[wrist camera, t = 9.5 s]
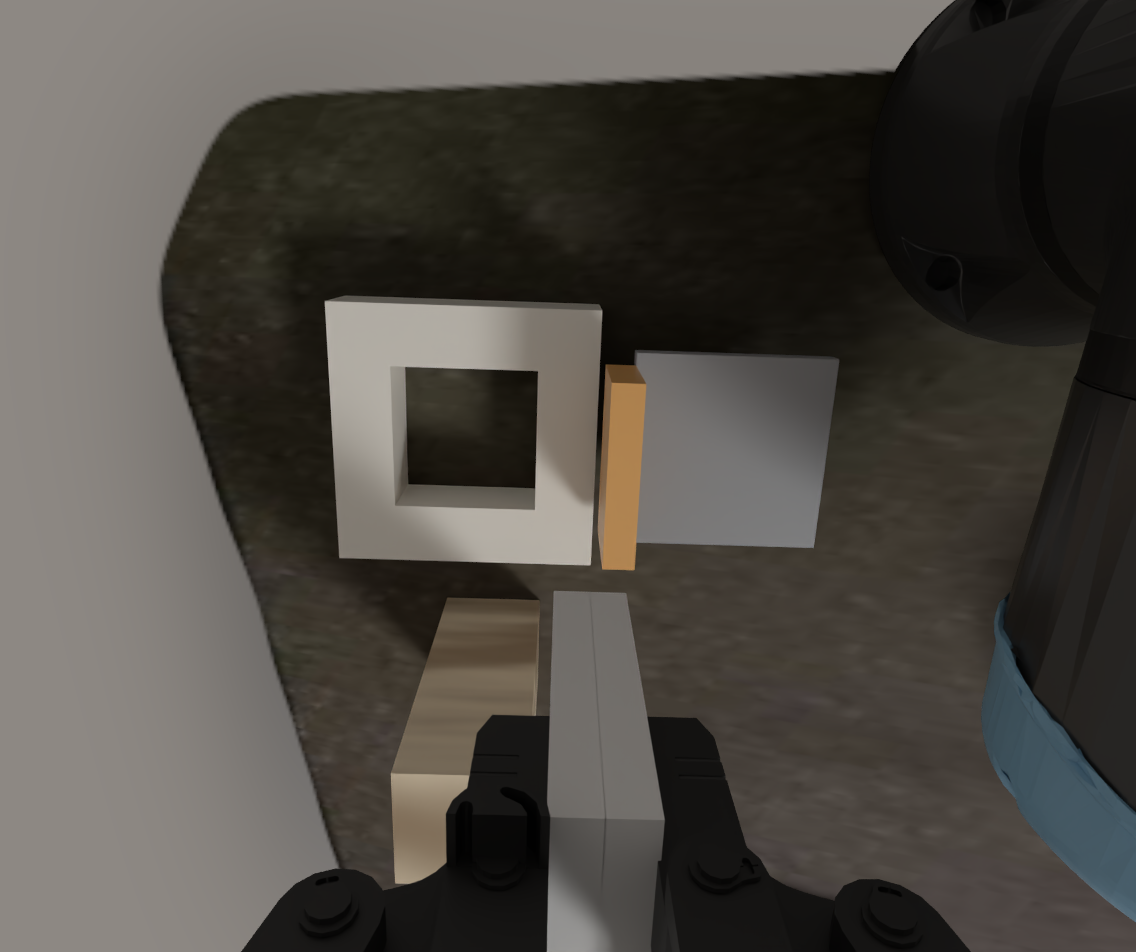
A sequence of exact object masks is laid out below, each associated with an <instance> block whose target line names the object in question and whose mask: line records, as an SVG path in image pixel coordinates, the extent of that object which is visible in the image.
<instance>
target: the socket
mask: <svg viewBox="0 0 1136 952" xmlns="http://www.w3.org/2000/svg"><path fill="white" fill-rule="evenodd" d="M325 314H326V332H327V350H328V367H329V385H330V402H331V420H332V437H333V455H334V473H335V490H336V508H337V525H338V543H339V558H358V559H392V560H426V561H461V562H495V563H529V564H563V565H591V546H592V524H593V503H594V481H595V459H596V438H597V416H598V394H599V373H600V351H601V329H602V309H601V307H600V305H599V304H577V303H548V302H519V301H490V300H461V299H432V298H402V297H373V296H342V297H338V298H334V299H331V300H327V301H325ZM405 367H430V368H460V369H491V370H521V371H538V398H537V441H536V485H535V488H511V487H478V486H446V485H413V484H408V458H407V422H406V386H405Z"/></svg>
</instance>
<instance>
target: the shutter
mask: <svg viewBox="0 0 1136 952" xmlns="http://www.w3.org/2000/svg"><path fill="white" fill-rule="evenodd" d="M838 366H839V359H837V358H835V357H831V356H801V355H771V354H741V353H711V352H681V351H651V350H635V361H634V365H606V371H605V391H604V412H603V432H602V453H601V474H600V494H599V515H598V537H599V545H600V554H601V563H602V569H610V570H634V569H635V554H636V543H669V544H702V545H736V546H770V547H803V548H814V542H815V534H816V527H817V520H818V512H819V505H820V498H821V491H822V483H823V476H824V469H825V461H826V454H827V447H828V439H829V432H830V425H831V417H832V410H833V403H834V396H835V388H836V381H837V374H838Z"/></svg>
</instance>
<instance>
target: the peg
mask: <svg viewBox="0 0 1136 952" xmlns="http://www.w3.org/2000/svg"><path fill="white" fill-rule="evenodd" d="M539 608H540V600H517V599H482V598H447V600H446V604H445V607H444V610H443V613H442V616H441V619H440V622H439V625H438V628H437V632H436V635H435V638H434V641H433V644H432V647H431V650H430V653H429V657H428V660H427V663H426V666H425V669H424V672H423V675H422V678H421V681H420V685H419V688H418V691H417V694H416V697H415V700H414V703H413V706H412V709H411V713H410V716H409V719H408V722H407V725H406V728H405V731H404V734H403V738H402V741H401V744H400V747H399V750H398V753H397V756H396V759H395V762H394V766H393V769H392V772H391V787H392V813H393V838H394V864H395V883H406V884H411V883H414V882H417V881H419V880H422V879H424V878H426V877H427V876H429V875H431V874H433V873H434V872H436V871H437V870H438V869H439V868H441V867H442V866H443V865H444V864H445V863H446V812H447V810H448V808H449V806H450V804H451V802H452V800H453V799H454V798H455V797H457V796H458V795H459V794H460V793H461V792H463V791H464V790H465V789H467V786H468V780H469V776H470V769H471V763H472V758H473V752H474V746H475V741H476V735H477V732H478V731H479V730H480V728H481V727H482V726H483V725H484V724H485V723H486V721H487V720H488V719H489V718H490V717H491V716H492V715H524V716H536V700H537V683H538V647H539Z"/></svg>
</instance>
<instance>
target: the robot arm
mask: <svg viewBox="0 0 1136 952" xmlns="http://www.w3.org/2000/svg"><path fill="white" fill-rule="evenodd" d="M896 70H899V72H898V73H897V75H896V77H895V79H894V81H893V83H892V85H891V88H890V90H889V92H888V94H887V97H886V99H885V102H884V105H883V107H882V110H881V113H880V116H879V120H878V123H877V127H876V131H875V135H874V140H873V145H872V151H871V159H870V175H869V188H870V202H871V211H872V216H873V222H874V226H875V230H876V233H877V237H878V240H879V243H880V245H881V248H882V251H883V253H884V255H885V257H886V260H887V262H888V263H889V265H890V267H891V269H892V271H893V273H894V274H895V276H896V277H897V279H898V280H899V282H900V283H901V284H902V286H903V287H904V288H905V289H906V291H907V292H908V293H909V294H910V295H911V296H912V297H913V298H914V299H915V301H916V302H918V303H919V304H920V305H921V306H922V307H923V308H924V309H925V310H927V311H928V312H929V313H931V314H932V315H933V316H935V317H936V318H938V319H939V320H941V321H942V322H944V323H946V324H948V325H950V326H952V327H953V328H955V329H958V330H960V331H963V332H965V333H967V334H971V335H974V336H977V337H980V338H984V339H989V340H993V341H997V342H1001V343H1006V344H1012V345H1019V346H1059V345H1068V344H1075V343H1080V342H1085V341H1086V344H1085V347H1084V351H1083V354H1082V358H1081V361H1080V364H1079V368H1078V371H1077V373H1076V375H1075V377H1074V379H1073V382H1072V386H1071V389H1070V393H1069V396H1068V400H1067V403H1066V407H1065V410H1064V414H1063V418H1062V421H1061V425H1060V428H1059V432H1058V435H1057V439H1056V442H1055V446H1054V449H1053V453H1052V456H1051V460H1050V463H1049V467H1048V470H1047V474H1046V477H1045V481H1044V485H1043V488H1042V492H1041V495H1040V499H1039V502H1038V505H1037V508H1036V512H1035V515H1034V518H1033V521H1032V525H1031V528H1030V531H1029V534H1028V538H1027V541H1026V544H1025V547H1024V551H1023V554H1022V557H1021V560H1020V563H1019V567H1018V570H1017V573H1016V576H1015V580H1014V583H1013V586H1012V589H1011V592H1010V593H1009V594H1008V595H1007V596H1006V597H1005V598H1004V599H1003V600H1001V601H1000V602H999V605H998V608H997V611H996V614H995V619H994V634H995V638H996V645H995V649H994V653H993V658H992V662H991V667H990V671H989V676H988V680H987V684H986V689H985V693H984V698H983V702H982V714H981V721H982V732H983V737H984V741H985V746H986V749H987V752H988V755H989V758H990V761H991V763H992V765H993V767H994V769H995V771H996V772H997V774H998V776H999V778H1000V780H1001V781H1002V783H1003V785H1004V786H1005V787H1006V788H1007V789H1008V790H1009V792H1010V793H1011V794H1012V795H1013V796H1014V797H1015V798H1016V801H1017V805H1018V809H1019V810H1020V812H1021V814H1022V815H1023V817H1024V818H1025V819H1026V821H1027V822H1028V823H1029V824H1030V826H1031V827H1032V828H1033V829H1034V830H1035V831H1036V833H1037V834H1038V835H1039V836H1040V837H1041V838H1042V839H1043V840H1044V842H1045V843H1046V844H1047V845H1048V846H1049V847H1050V848H1051V849H1052V850H1053V852H1054V853H1055V854H1056V855H1057V856H1058V857H1059V858H1060V859H1061V860H1062V861H1063V862H1064V863H1065V864H1066V865H1067V866H1068V867H1070V868H1071V869H1072V870H1073V871H1074V872H1075V873H1076V874H1077V875H1078V876H1079V877H1080V878H1081V879H1082V880H1084V881H1085V882H1086V883H1087V884H1088V885H1089V886H1090V887H1092V888H1093V889H1094V890H1095V891H1096V892H1097V893H1099V894H1100V895H1101V896H1102V897H1103V898H1105V899H1106V900H1107V901H1108V902H1109V903H1111V904H1112V905H1113V906H1115V907H1116V908H1117V909H1119V910H1120V911H1121V912H1123V913H1124V914H1125V915H1126V916H1128V917H1129V918H1131V919H1132V920H1133V921H1135V922H1136V0H955V1H953V2H952V3H951V4H950V5H949V6H947V7H946V8H945V9H944V10H943V11H942V12H941V13H940V14H939V15H938V16H937V17H936V18H935V19H934V20H933V21H932V22H931V23H930V24H929V25H928V26H927V27H926V28H925V29H924V30H923V32H922V33H921V34H920V35H919V37H918V38H917V39H916V40H915V41H914V43H913V44H912V45H911V47H910V48H909V50H908V51H907V52H906V54H905V55H904V57H903V59H902V61H901V62H900V63H899V65H898V66H897V68H896ZM241 952H970V950H969V949H968V948H967V947H966V946H965V944H964V943H963V942H962V941H961V940H960V938H959V937H958V936H957V935H956V934H955V932H954V931H953V930H952V929H951V928H950V926H949V925H948V924H947V923H946V922H945V920H944V919H943V918H942V917H941V916H940V914H939V913H938V912H937V911H936V910H935V909H934V908H933V907H932V906H930V905H929V904H928V903H927V902H926V901H925V900H924V899H923V898H922V897H921V896H919V895H917V894H915V893H913V892H911V891H910V890H908V889H906V888H904V887H902V886H901V885H897V884H894V883H890V882H887V881H883V880H879V879H859V880H857V881H854V882H852V883H849V884H847V885H845V886H843V888H842V889H841V891H840V892H839V893H838V895H837V896H836V897H835V901H832V900H828V899H825V898H821V897H818V896H815V895H811V894H808V893H804V892H801V891H798V890H796V889H793V888H791V887H788V886H786V885H784V884H782V883H780V882H779V881H777V880H775V879H774V878H772V877H771V876H769V874H768V872H767V870H766V868H765V867H764V865H763V863H762V861H761V859H760V858H759V857H757V856H756V855H755V854H754V853H753V852H752V851H751V850H749V849H748V848H747V846H746V843H745V840H744V837H743V833H742V830H741V827H740V823H739V820H738V816H737V813H736V810H735V806H734V803H733V800H732V796H731V793H730V790H729V786H728V783H727V780H726V779H725V773H724V769H723V766H722V763H721V762H720V756H719V752H718V749H717V746H716V742H715V739H714V737H713V735H712V734H711V733H710V732H709V731H708V730H707V729H706V728H705V727H704V726H703V725H702V724H701V723H700V721H699V720H698V719H697V718H673V717H647V713H646V707H645V702H644V696H643V690H642V684H641V678H640V672H639V666H638V660H637V655H636V649H635V643H634V637H633V631H632V625H631V619H630V614H629V608H628V602H627V596H626V593H607V592H573V591H554V601H553V633H552V664H551V696H550V716H524V715H492V716H491V717H490V718H489V719H488V720H487V721H486V723H485V724H484V725H483V726H482V727H481V728H480V730H479V731H478V732H477V735H476V741H475V746H474V752H473V758H472V763H471V769H470V776H469V780H468V786H467V789H465V790H464V791H463V792H461V793H460V794H459V795H458V796H457V797H455V798H454V799H453V800H452V802H451V804H450V806H449V808H448V810H447V812H446V863H445V864H444V865H443V866H442V867H441V868H439V869H438V870H437V871H436V872H434V873H433V874H431V875H429V876H427V877H426V878H424V879H422V880H419V881H417V882H414V883H411V884H408V885H404V886H400V887H396V888H392V889H388V890H384V891H382V888H381V887H380V886H379V885H378V884H377V882H376V881H375V880H374V879H373V878H372V877H371V876H369V875H366V874H364V873H362V872H359V871H357V870H350V869H332V870H328V871H324V872H320V873H315V874H313V875H311V876H310V877H307V878H306V879H304V880H302V881H300V882H298V883H296V884H295V885H294V886H293V887H292V888H291V889H290V890H289V891H288V892H287V893H286V894H285V895H284V896H283V897H282V898H281V899H280V900H279V901H278V902H277V904H276V905H275V907H274V908H273V909H272V911H271V912H270V913H269V915H268V916H267V917H266V919H265V920H264V922H263V923H262V924H261V926H260V927H259V928H258V930H257V931H256V932H255V934H254V935H253V937H252V938H251V939H250V941H249V942H248V943H247V945H246V946H245V947H244V949H243V950H242V951H241Z"/></svg>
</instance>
